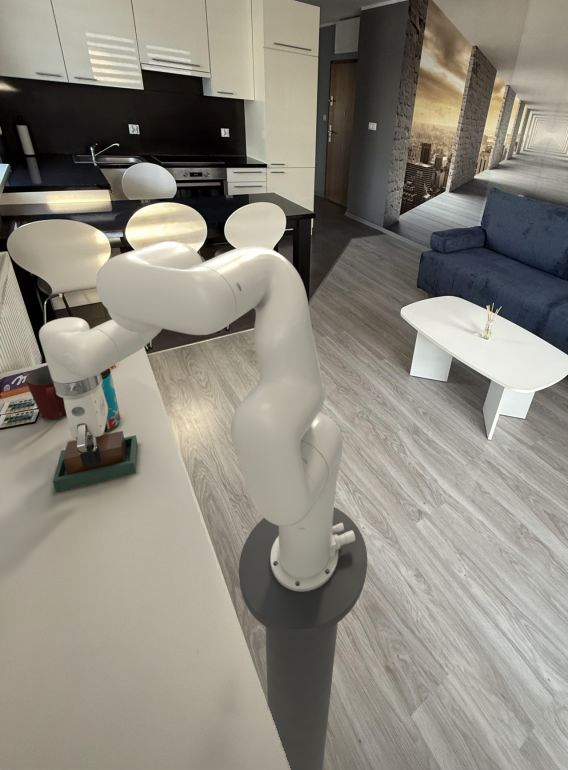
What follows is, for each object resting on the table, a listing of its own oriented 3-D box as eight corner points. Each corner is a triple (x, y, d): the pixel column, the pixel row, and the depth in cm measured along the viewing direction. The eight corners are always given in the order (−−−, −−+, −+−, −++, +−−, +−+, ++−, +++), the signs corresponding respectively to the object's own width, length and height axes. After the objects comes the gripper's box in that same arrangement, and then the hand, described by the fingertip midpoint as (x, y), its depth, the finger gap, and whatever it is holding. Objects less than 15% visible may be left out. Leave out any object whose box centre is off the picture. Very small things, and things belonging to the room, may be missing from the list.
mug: (82, 422, 97) (72, 385, 92) (36, 434, 92) (23, 396, 88) (80, 395, 106) (71, 360, 101) (38, 405, 101) (27, 369, 96)
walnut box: (69, 480, 81) (62, 459, 79) (73, 462, 85) (67, 441, 83) (125, 467, 85) (120, 446, 83) (127, 451, 89) (122, 430, 87)
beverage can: (124, 425, 97) (114, 374, 91) (97, 436, 93) (84, 384, 87) (116, 413, 101) (106, 363, 95) (89, 423, 97) (76, 372, 91)
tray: (137, 445, 92) (135, 435, 91) (135, 473, 85) (133, 462, 84) (64, 461, 86) (61, 450, 85) (55, 492, 79) (52, 481, 78)
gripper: (94, 402, 70) (112, 473, 77) (106, 354, 85) (120, 417, 92) (43, 412, 67) (66, 484, 74) (63, 360, 82) (82, 425, 89)
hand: (96, 447), depth 83 cm, fingers open, 9 cm apart
